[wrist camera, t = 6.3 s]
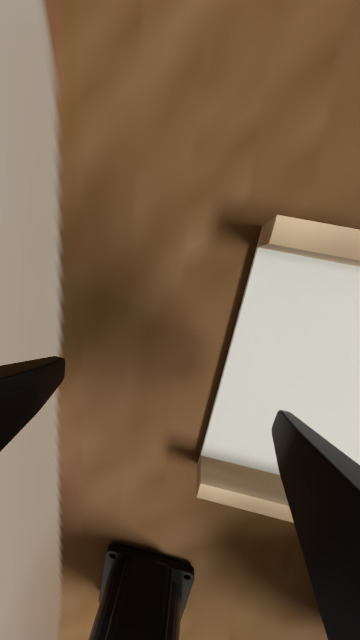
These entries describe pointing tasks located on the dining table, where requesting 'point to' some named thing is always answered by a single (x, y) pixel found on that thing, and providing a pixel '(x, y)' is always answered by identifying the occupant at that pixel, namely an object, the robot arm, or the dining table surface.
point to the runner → (290, 360)
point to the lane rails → (247, 483)
